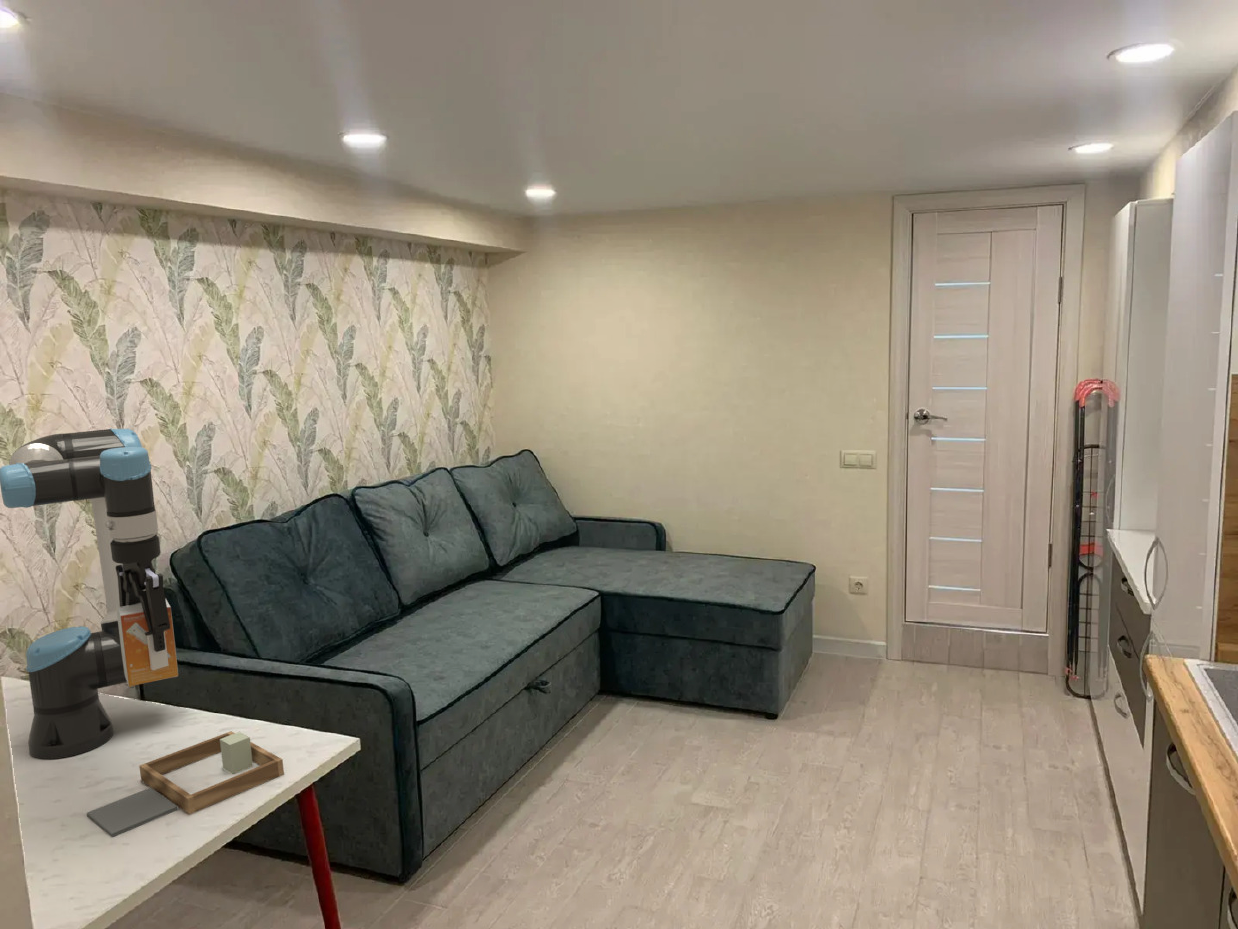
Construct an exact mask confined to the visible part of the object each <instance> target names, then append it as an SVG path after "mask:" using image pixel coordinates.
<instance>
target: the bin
mask: <svg viewBox="0 0 1238 929" xmlns="http://www.w3.org/2000/svg"><path fill="white" fill-rule="evenodd" d="M235 733H236V732H233V731H231V730H230V731H228V732H226V733H223V734H220V735H217V736H214V737H211V738H209V739H206V740H203V741H202V742H201V741H200V742H199V743H196V744H193V745H190V746H189V747H188V746H187V747H185V748H182V749H180V750H178V751H174V752H172V753H170V754H167V755H164V756H161V757H159V758H156V759H153V760H151V761H148V762H145V763H142V764H140V765H139V773H140V774H139V775H140V781H141V782H143V783H144V784H146V785H147V786H149V788H150V787H151V788H152V789H154V790H155V791H156V792H158V793H159V794H161V795H162V796H164V797H165V798H166V799H168V800H169V801H171V802H172V803H173V804H175V805H176V806H177V807H178V808H179V809H181V810H182V811H184V812H185V813H187V814H188V815H192V814H195V813H196V812H200V811H201V810H203V809H206V808H208V807H209V808H210V807H211V806H213V805H216V804H217V803H220V802H222V801H224V800H227V799H229V798H232V797H234V796H236V795H239V794H241V793H243V792H245V791H248V790H250V789H253V788H254V787H257V786H260V785H262V784H264V783H267V782H269V781H271V780H274V779H275V778H278V777H280V776H283V775H284V774H285V772H284V769H285V768H284V762H283V759H282V758H281V757H280V756H278V755H275V754H273V753H272V752H270V751H269V750H267V749H265V748H263V747H261V746H259V745H257V744H256V743H253V742H251V741H250V744H251V753H252V762H254V763H255V764H257V765H259V766H257V767H255V768H252V769H250V770H248V771H245V772H242V773H240V774H237V775H235V776H233V777H231V778H228V779H225V780H223V781H220V782H218V783H216V784H213V785H211V786H208V787H206V788H203V789H201V790H199V791H197V792H194V793H192V794H191V793H189V792H188V791H186V790H185V789H183V788H182V787H180V786H179V785H177V784H176V783H174V782H173V781H172V780H170V779H168V778H167V777H166V776H164V775H165V774H167V773H170V772H173V771H175V770H177V769H180V768H183V767H186V766H188V765H191V764H194V763H196V762H199V761H200V760H203V759H206V758H208V757H211V756H214V755H216V754H219V753H221V746H220V739H222V738H224V737H227V736H229V735H232V734H235Z"/></svg>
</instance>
